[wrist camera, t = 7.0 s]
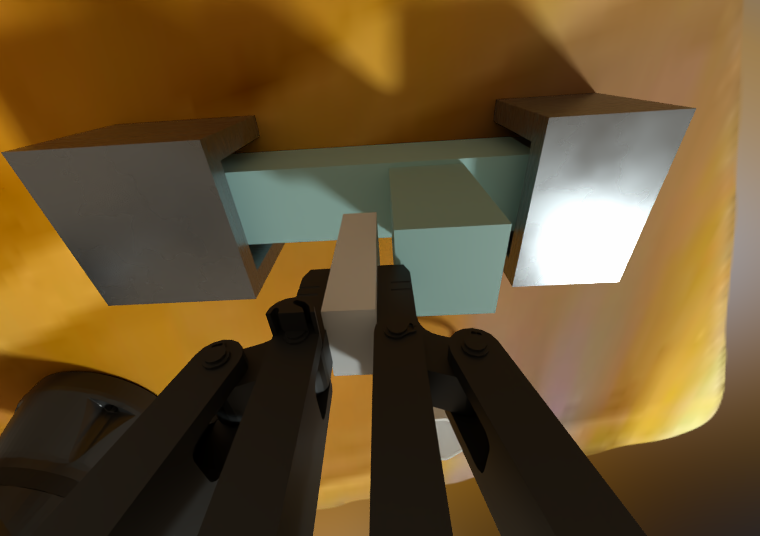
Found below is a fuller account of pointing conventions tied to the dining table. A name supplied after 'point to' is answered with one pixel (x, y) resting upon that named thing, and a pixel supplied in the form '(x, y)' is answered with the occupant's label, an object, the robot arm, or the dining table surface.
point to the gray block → (150, 209)
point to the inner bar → (397, 207)
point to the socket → (586, 182)
